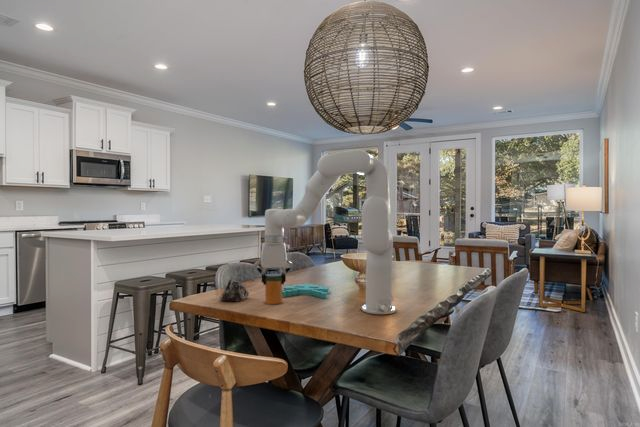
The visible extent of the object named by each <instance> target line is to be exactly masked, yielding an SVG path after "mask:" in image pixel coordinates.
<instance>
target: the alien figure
mask: <svg viewBox="0 0 640 427" xmlns="http://www.w3.org/2000/svg"><path fill="white" fill-rule="evenodd" d="M329 293H330V287H328V286H324V285H321V284H320V285H319V284H316V283H301V284H295V285H294V284H293V285H285V286H284V287H283V290H282V298H286V297H292V296H298V295H302V296H303V295H305V296H306V295H307V296H308V295H309V296H311V297H316V298H320V299H328V295H329Z"/></svg>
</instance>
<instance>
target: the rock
mask: <svg viewBox="0 0 640 427" xmlns="http://www.w3.org/2000/svg"><path fill="white" fill-rule="evenodd" d="M249 295H250V293H249V291H248V290H247V287H246V286H245V285H244V284H243V283H242V282H241V281H240V280H238V281H237V280H234V279H231V278H230V279H229V280H228V282H227V285H226V286H225V288H224V290H223V292H222V293H221V294H220V296H219V299H220V301H223V302H238V301H240V302H242V301H244V300H245V299H246V298H248V297H249Z"/></svg>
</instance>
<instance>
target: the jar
mask: <svg viewBox="0 0 640 427" xmlns="http://www.w3.org/2000/svg"><path fill="white" fill-rule="evenodd" d="M264 286H265V292H264V294H265V297H264V298H265V304H268V305H279V304H281V303H283V297H282V291H283V284H282V279H281V280H275V281H269V280H265V285H264Z"/></svg>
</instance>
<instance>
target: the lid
mask: <svg viewBox="0 0 640 427" xmlns="http://www.w3.org/2000/svg"><path fill="white" fill-rule="evenodd" d="M265 275H266V279H265V280H269V281H275V280H282V273H267V274H266V273H265Z"/></svg>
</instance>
